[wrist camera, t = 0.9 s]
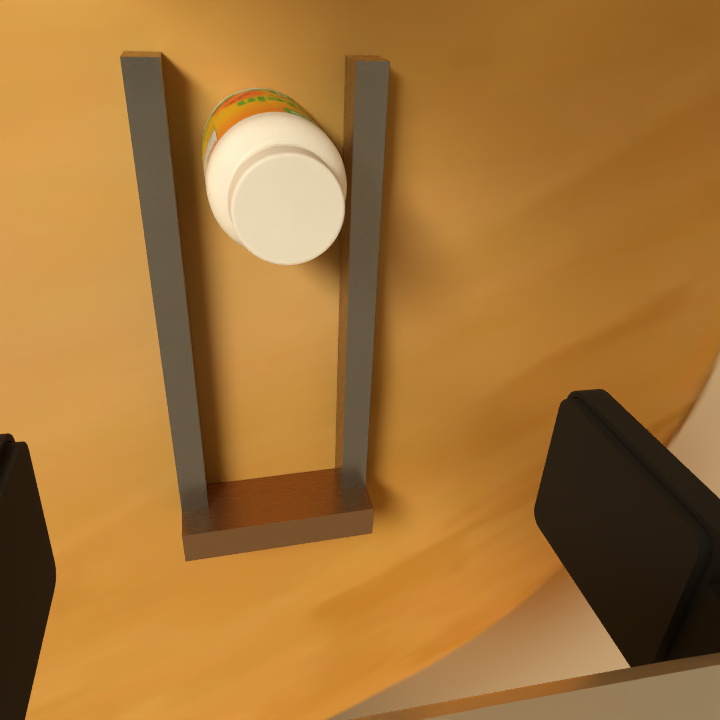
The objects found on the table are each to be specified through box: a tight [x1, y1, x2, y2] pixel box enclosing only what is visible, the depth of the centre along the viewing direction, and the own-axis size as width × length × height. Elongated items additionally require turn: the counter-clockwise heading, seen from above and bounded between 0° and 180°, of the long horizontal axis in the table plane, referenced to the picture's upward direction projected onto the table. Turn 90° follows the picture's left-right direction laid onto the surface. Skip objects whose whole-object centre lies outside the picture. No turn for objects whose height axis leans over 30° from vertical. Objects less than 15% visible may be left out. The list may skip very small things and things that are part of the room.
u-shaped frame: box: [120, 51, 390, 561], centre depth 33 cm, size 26×11×4 cm, turn 178°
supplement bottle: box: [202, 88, 347, 265], centre depth 26 cm, size 5×5×10 cm
